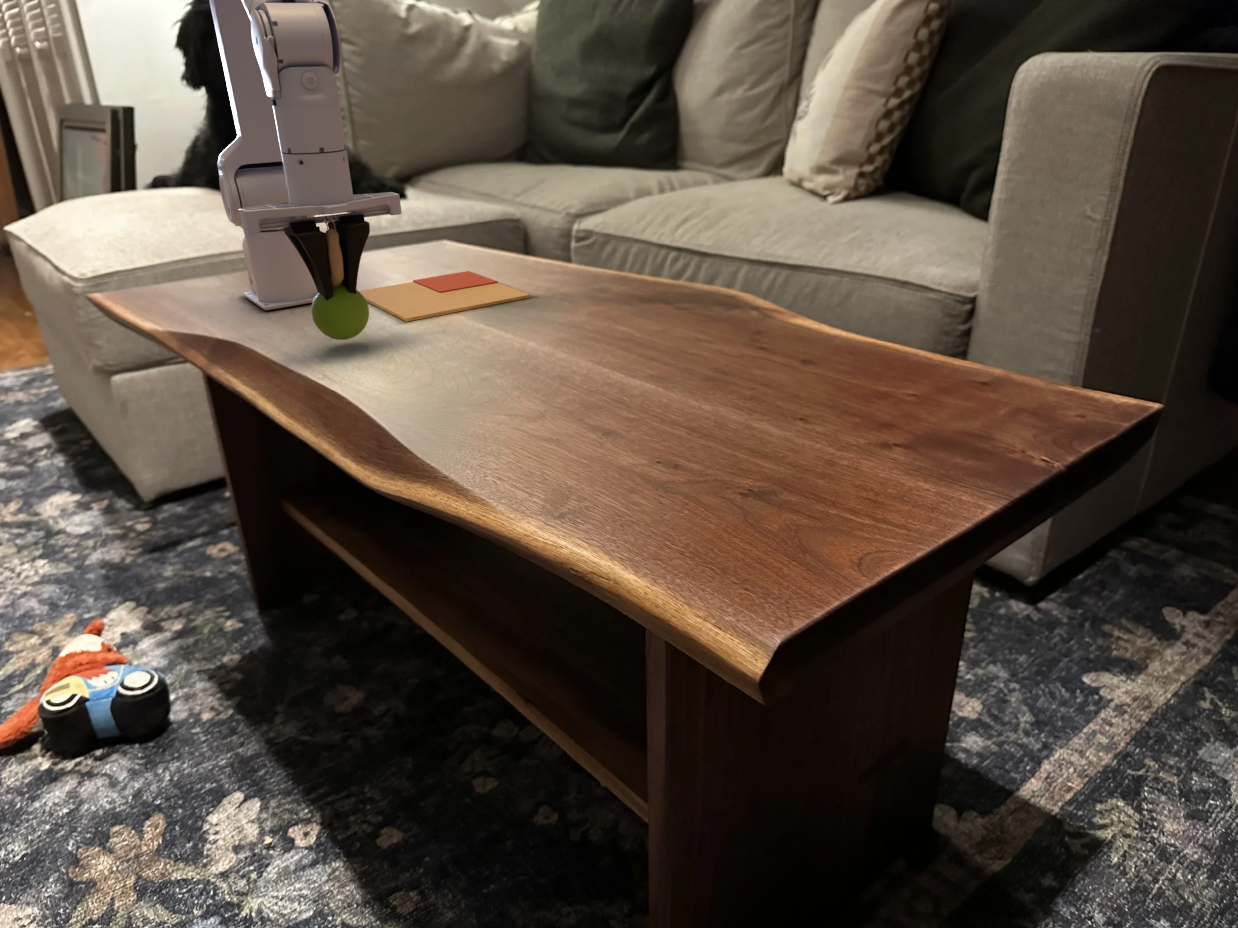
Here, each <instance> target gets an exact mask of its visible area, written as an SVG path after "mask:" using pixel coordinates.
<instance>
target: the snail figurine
mask: <svg viewBox="0 0 1238 928" xmlns="http://www.w3.org/2000/svg"><path fill="white" fill-rule="evenodd" d="M330 221H331V222H333V223H334V222H335V221H336V218H335V217H334V216H331V217H330ZM323 222H324V224H325V225H326V230H325V231H324V233H325V234H326V235H327V237H326V238H327V261H328V269H329V275H330V279H331V284H332V289H333V297H332V298H330V299H329V300H328V301H326V300H325V298H324V297H323V295H322V294H320V293H318V294H317V295H316V296H315V298H314V300H313V302H312V303H311V307H310V308H311V310H310V311H311V319H312V320H313V323H314V325H315V327H316V328H317V329H318V330H319V331H320V332H321V333H322V334H323V335H325V336H326V337H328V338H331V339H334V340H340V341H345V340H349V339H353V338H355V337H357V336H359V334H361V333H362V332H363V331H364V330H365V329H366V327H367V325H368V322H369V318H370V308H369V304H368V302H366V300H365V298H364V297H363V295H362V294H361V293H360V292H359V291H360V290H358V289H356V294H353V293H349V291H348V289H347V288H346V287H345V286H344V285H343V284H341V282H342V281H343V278H344V269H343V258H342V252H341V248H340V245H339V234H338V232H337V231H336V229H335V230H334V229H329V228H328V225H327V224H328V222H329V219H328V218H327V217H324V218H323ZM334 228H335V224H334Z"/></svg>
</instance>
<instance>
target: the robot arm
mask: <svg viewBox="0 0 1238 928" xmlns="http://www.w3.org/2000/svg"><path fill="white" fill-rule="evenodd" d="M209 7H210V10H211V15H212V20H213V24H214V30H215V34H216V35H215V36H216V39H217V45H218V49H219V54H220V59H221V63H222V68H223V73H224V78H225V82H226V88H227V93H228V97H229V101H230V102H229V103H230V107H231V112H232V117H233V121H234V126H235V131H236V134H237V135H236V138H235V139H234V140H233V141H232V142H231V143H230V144H228V146H226V147H225V149H223V150H222V152H220V154H219V155H218V159H217V162H216V166H217V171H218V176H219V177H218V180H219V181H218V182H219V190H220V194H221V196H220V197H221V199H222V203H223V208H224V211H225V214H226V217H227V219H228V221H229V222H230V223H232V224H233V225H234V226H235V227H239V228H241V229H242V230H243V237H242V243H241V247H242V252H243V256H244V257H243V258H244V262H245V266H246V267H245V268H246V271H247V276H248V282H249V287H250V290H249V291H244V292H243V297H245V298H246V299H248V300H249V301H250V302H253V303H254V304H255V305H256V306H258V307H259V308H261V309H262V310H264V311H270V310H277V309H283V308H289V307H294V306H299V305H305V304H312V303H313V300H314V298H315V296H316V295H317V294H318V293H320V294H322V295H323V297H324V298H325V300H326V301H328V300H329V299H330V298H332V297H333V289H332V284H331V279H330V275H329V269H328V261H327V238H326V237H327V235H326V234H325V231H323V230H321V227H320V226H319V225H318V226H317V224H321V223H322V224H323V223H324V222H323V218H324V217H327V218H328V219H329V222H328V223H327V225H328V229H334V230H335V229H336V231H337V232H338V234H339V245H340V248H341V252H342V258H343V269H344V278H343V281H342V282H341V284H343V285H344V286H345V287H346V288H347V289H348V291H349V293H353V294H356V290H357V286H358V276H359V269H360V264H361V259H362V255H363V252H364V249H365V246H366V243H367V240H368V238H369V235H370V232H371V226H370V222H369V221H368V220H367V221H366V220H365V218H371V217H381V216H387V215H390V216H397V215H398V216H399V215H402V206H401V198H400V193H397V192H392V191H389V192H376V193H361V194H359V193H358V194H354V193H353V185H352V178H351V171H350V165H349V164H350V163H349V158H348V151H347V144H346V136H345V130H344V122H343V116H342V109H341V103H340V95H339V89H338V83H337V76H336V75H337V74H339V72H340V70H341V65H342V47H341V45H342V44H341V38H340V37H341V36H340V32H339V27H338V23H337V19H336V16H335V14H334V11H333V9H332V7H331V5H330V3H329V2H328V1H327V0H209ZM278 162H282V165H278V166H277V165H276V166H264V167H252V168H251V167H250V168H241V169H240V167H242V166H245V165H252V164H264V163H278ZM331 216H334V217H335V218H336V221H335V222H334V223H333V222H331V221H330V217H331ZM324 224H325V223H324ZM334 224H335V228H334ZM327 225H326V226H327Z"/></svg>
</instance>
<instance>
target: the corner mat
mask: <svg viewBox="0 0 1238 928" xmlns="http://www.w3.org/2000/svg"><path fill="white" fill-rule="evenodd" d="M358 291H359V292H360V293H361V294H362V295H363V297H364V298H365V300H366V302H367V304H368V303H369V304H370V305H373V306H374V307H376V308H378V309H380V310H382V311H384V312H386V313H388V314H390V315H392V316H394V317H396V318H397V319H400V320H402V321H404V322H413V321H417V320H422V319H427V318H433V317H438V316H443V315H449V314H454V313H458V312H463V311H470V310H473V309H479V308H485V307H489V306H495V305H500V304H506V303H510V302H515V301H521V300H526V299H530V298H531V294H530V293H527V292H524V291H521V290H519V289H516V288H512V287H510V286H507V285H505V284H502V283H499V282H498V281H497V280H495V279H492V278H490V277H487V276H484V275H481V274H478V273H476V272H472V271H469V270H466V271H459V272H454V273H449V274H448V273H447V274H442V275H436V276H430V277H424V278H419V279H413V280H412V281H409V282H404V283H398V284H393V285H387V286H386V285H385V286H380V287H374V288H369V289H363V290H358Z"/></svg>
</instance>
